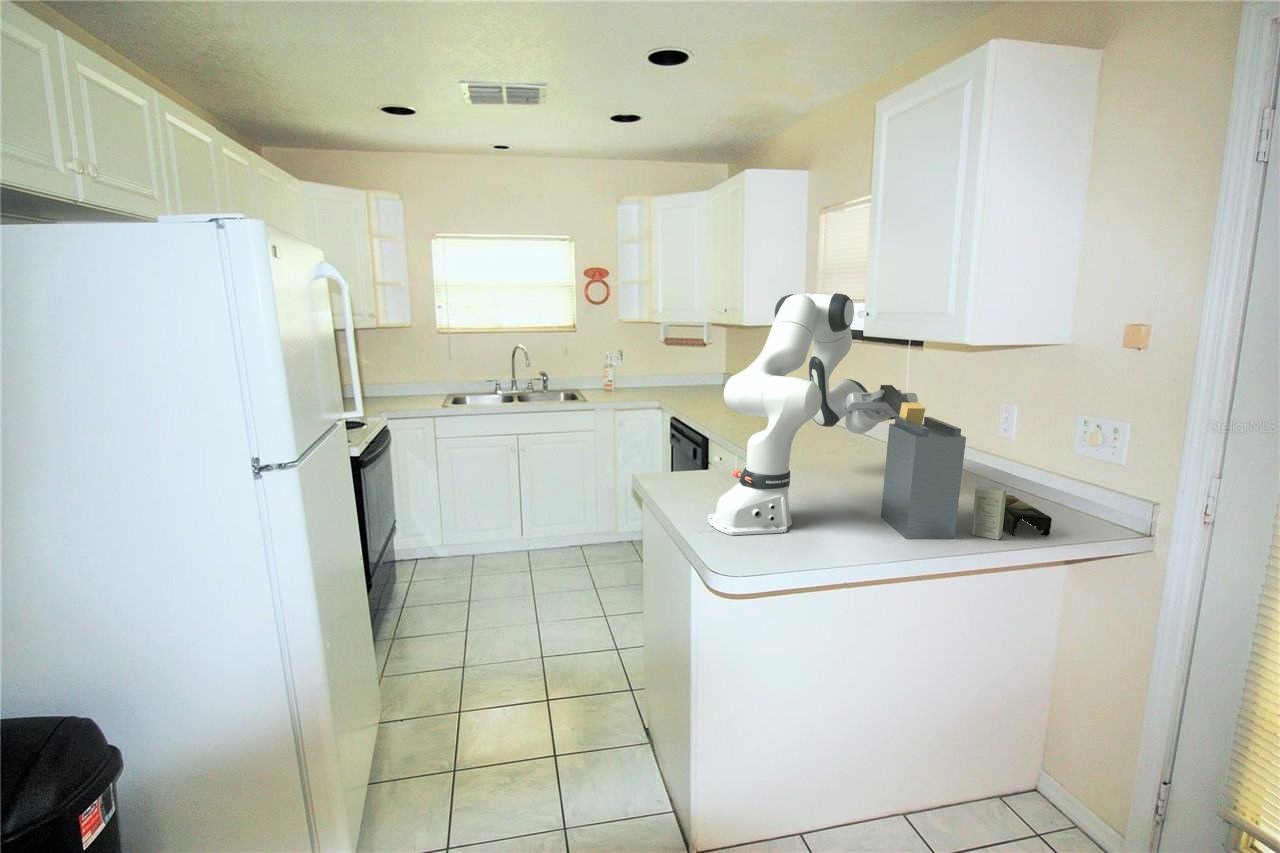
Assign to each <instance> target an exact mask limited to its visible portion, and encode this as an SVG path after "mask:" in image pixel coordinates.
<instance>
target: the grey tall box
mask: <svg viewBox="0 0 1280 853" xmlns="http://www.w3.org/2000/svg"><path fill="white" fill-rule="evenodd" d="M966 443H967V437H966V436H964V435H962V428H959V427H957V426H956V425H953V424H950V423H947V422H946V421H945V422H944V421H943V420H939V419H937V418H934V417H932V416H924V417H923V423H922V424H917V423H915V422H913V421H910V420H908V419H906V418H903V417H901V416H895V419H894V423H889V425H888V436H887V447H886V459H885V469H884V478H883V490H882V491H883V492H882V502H881V510H880V511H881V512H880V518H881V519H883V520H884V522H886V523H887V524H888V525H889V526H891V527H892V528H893V529H894V530H895V531H896V532H898V533H899V535H901V536H902V537H903V538H904V539H906V540H955V536H956V535H955V534H956V526H957V517H958V511H959V501H960V500H959V499H960V492H961V483H962V478H963V477H962V475H963V469H964V468H963V467H964V459H965V449H966Z"/></svg>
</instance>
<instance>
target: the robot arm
mask: <svg viewBox="0 0 1280 853" xmlns="http://www.w3.org/2000/svg"><path fill="white" fill-rule="evenodd" d="M774 308H775V309H774V320H773V323H772V325H771V329H770V332H769V335H768V337H767V339H766V342H765V345H764V347H763V349H762V351H761V352H760V354H759V355H758V356H757V358H755V360H754V361H753V362H752V363H750V365H749V366H747V367H746V368H745V369H743V370H742V371H740V372H738V373H736V374H734V375H732V376H731V377H730V378H729V379H728V380H727V382H726V383H725V385H724V388H723V401H724V403H725V405H726V407H727V408H728V409H729V410H730V411H733V412H735V413H738V414H742V415H744V416H750V417H751V416H752V417H753V416H754V417H759V418H767V419H768V423H767V426H766V428H765V429H762V430H760V431H757V432H755V433H754V434H752V435H750V437H749V439H748V441H747V444H746V461H745V467H744V469H743V471H741V470H739V469H734V470H733V471H732V473H731V474H732V476H733V478H736V479H739V480H738V481H739V482H738V483H737V484H735V485H733V487H731V488H730V489H729V490H728V491H726V492H725V493H723V495H721V496H720V497H719V498H718V501H717V503H716V509H715V512H714V513H709V514H708V515H707V518H706V521H707V523H708V522H709V523H708V524H709V525H710V526H711V527H712V526H713V527H712V528H714V529H715V530H718V532H721V533H723V534H726V535H730V536H741V535H742V536H743V535H746V536H747V535H762V534H765V535H767V534H778V533H779V534H780V533H782V534H783V532H784V533H787V531H788V528H789V527H791V526H792V524H793V521H792V516H791V511H790V502H789V501H790V498H789V488H790V484H791V470H790V461H791V460H790V457H791V451H792V444H793V441H794V438H795V436H796V434H797V433H798V431H799V430H800V428H802V426H804V425H805V424H807V422H808V421H810V420H813V421H814V422H815V423H816V424H817V425H819V426H821V427H824V428H825V427H826V428H828V427H829V428H831V427H832V428H833V427H834V426H835V425H836V424H837V423H839V422H840V421H841V419H843V418H845V420H844V423H845V426H846V429H847V430H848V431H849V432H850V433H853V434H857V435H859V434H860V435H862V434H865V433H867V432H870V431H871V430H872V429H874V427H876V426H877V425H878V424H880V423H882V422H886V421H890V420H895V416H899V415H898V414H897V413H896V412H895V411H894V410H893V409H892V408H891V407H890V406H889V405H888V404H887V403H886V402H885V401H884V400H883V399H882V398H881V397H884V396H885V395H886V393H885V390H880V389H878V390H877V391H873V392H869V391H868V390H867V388H866V387H865V386H864V385H862V383H860V382H859V381H856V380H854V379H849V378H845V379H842V380H841V381H840V382H838V383H836V384H835V385H834V386H833V387H832V388H831V389H830V384H829V381H830V377H831V375H832V373H833V372H834V370H835V369H836V368H837V366H838V365H839V364H840V362H841V361H842V360H843V359H844V358H845V357H846V356H847V355H848V353H849V351H850V350H851V347H852V343H853V336H852V335H853V334H852V329H851V325H852V323H853V320H854V315H855V306H854V303H853V300H852V299H851V298H850V297H849V296H848V295H847V294H844V293H838V292H837V293H823V292H820V293H819V292H808V293H807V292H805V293H798V294H794V293H790V294H788V295H787V294H786V295H784V296H782V297H780V299H779V300H778V301H777V303H776V305H775V307H774ZM812 341H813V347H812V352H811V353H812V354H811V357H810V360H809V364H808V375H809V376H808V377H809V379H808V380H807V379H805V378H801V377H798V376H797V377H795V376H786V375H789V374H791V373H792V372H795V371H797V370H798V369H801V367H802V366H803V365H804V364H805V362H806V361H807V356H808V355H809V354H808V353H809V350H810V347H811V345H812ZM896 390H897V391H899V392H900V393H901V394H902V395H903V396H904V397H905V398H906V399H907V400H908V401H909V402H910V403H919V402H918V401H919V400H918V399H919V398H918V395H917V393H915V392H902V390H901V389H896Z"/></svg>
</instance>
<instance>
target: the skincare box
mask: <svg viewBox="0 0 1280 853" xmlns="http://www.w3.org/2000/svg"><path fill="white" fill-rule="evenodd" d="M974 491H975V492H974V504H973V513H972V514H973V515H972V525H971V526H972V527H971V535H973V536H976V537H977V536H978V537H982V538H987V539H990V540H991V539H993V540H996V541H998V540H1000V539H1001V537H1003V531H1004V530H1003V521H1004V511H1005V502H1006V495H1007V489H1005V488H998V487H992V486H991V487H990V486H983V485H978V486H977V487H976V488H975V490H974Z"/></svg>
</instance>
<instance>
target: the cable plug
mask: <svg viewBox="0 0 1280 853" xmlns="http://www.w3.org/2000/svg"><path fill="white" fill-rule="evenodd" d="M879 390H885V393H886V395H885V396H884V397H881V398H882V399H883V400H884V401H885V402H886V403H887V404H888V405H889V406H890V407H891V408H892V409H893V410H894V411H895V412H896V413H897V414H898V415H899V416H901V417H903V418H906V419H908V420H910V421H913V422H915V423H917V424H923V423H924V417H925V411H926V407H924V406H923V404H921V403H920V402H918V403H910V402H909V401H908V400H907V399H906V398H905V397H904V396H903V395H902V394H901V393H900V392H899V391H897V390H898V389H897V388H895V387H894V386H893V385H892V384H881V385H880V387H879Z"/></svg>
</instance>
